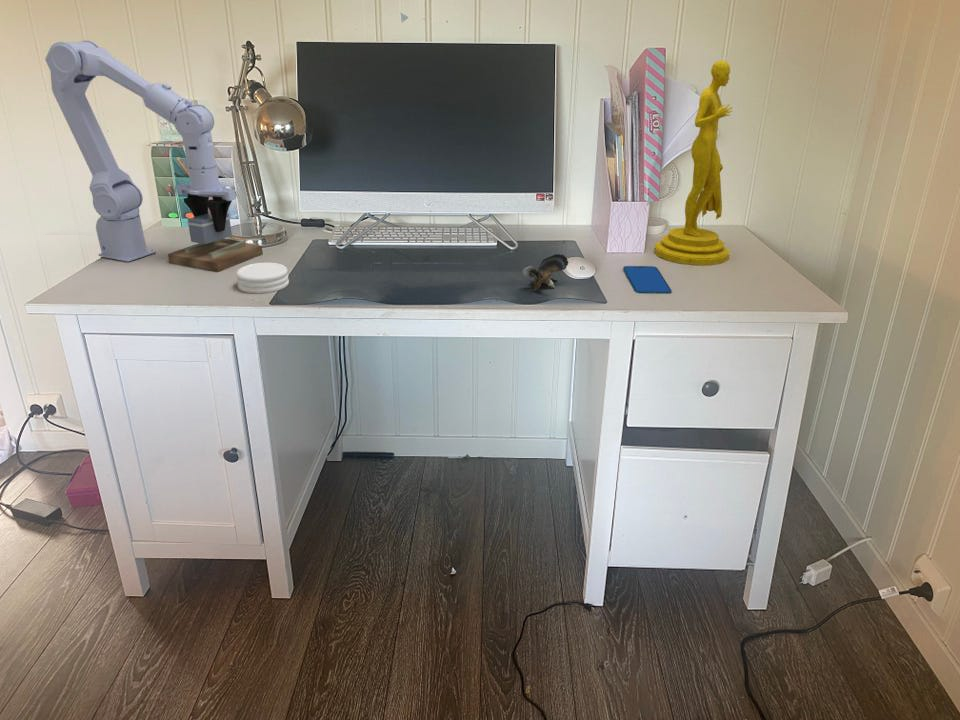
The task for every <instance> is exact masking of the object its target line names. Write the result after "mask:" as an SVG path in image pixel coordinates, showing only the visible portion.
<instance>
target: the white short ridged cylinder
mask: <svg viewBox="0 0 960 720" xmlns="http://www.w3.org/2000/svg"><path fill="white" fill-rule="evenodd" d="M288 272H289V270H288V268H287V266H285V265H284V264H281V263H278V262H277V263H276V262H256V263H255V262H254V263H251V264H246V265H245V266H242V267H240V268H238V269H237V270H236V272H235V276H236V282H237V288H238V289H239V290H240V291H242V292H244V293H248V294H266V293H267V294H268V293H274V292H278V291H281V290H283V289H285V288H286V287H287V286H289V283H290V280H289V274H288Z"/></svg>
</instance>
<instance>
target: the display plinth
mask: <svg viewBox="0 0 960 720" xmlns="http://www.w3.org/2000/svg"><path fill="white" fill-rule="evenodd" d="M263 253H264V252H263V246H262V245H261V244H255V243H254V244H253V243H247V242H245V240H244V239H239V238H233V237H232V238H231V237H226V238H223V239H220V240H217V241H214V242H210V243H207V244H201V243H196V244H193V245H190V246H187V247H184V248H181V249H178V250H176V251H173V252H169V253H167V257H168V262H169V264H173V265H174V264H175V265H180V266H185V267H189V268H194V269H195V268H196V269H200V270H205V271H206V270H207V271H211V272H216V273H219V272H221V271H224V270H227V269H229V268H232V267H234V266H237V265H239V264H241V263H244V262H246V261H249V260H252V259H254V258H256V257H259V256H262V255H263Z"/></svg>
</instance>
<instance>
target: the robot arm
mask: <svg viewBox="0 0 960 720" xmlns="http://www.w3.org/2000/svg"><path fill="white" fill-rule="evenodd" d="M44 60H45V62H46V65H47V66H48V70H50V71H49V72H50V73H49V74H50V81H51V83H50V84H51V91H52V94H53V96H54V98H55V101H56V102H57V104H58V106H59V108H60V110H61V112H62V115H63V117H64V119H65V120H66V123H67V125H68V127H69V129H70V131H71V134H72V135H73V138H74V139H75V143H76V144H77V146H78V148H79V150H80V152H81V155H82V156H83V158H84V161H85V163H86V165H87V167H88V169H89V171H90V173H91V176H92V178H91V181H90V183H89V187H88V188H89V190H90V193H91V196H92V205H93V206H92V207H93V208H94V210H95V211H96V213H97V214H98V215H99V217H98V219H97V220H96V224H95V231H96V235H97V240H98V243H99V247H100V252H101V253H98V255H97V256H98V257H101V258H107V259H112V260H115V261H123V262H132V261H134V260H139V259H140V258H141V259H142V258H143V257H146V256H150V255H153V254H156V253H157V250H155V249H150V248H147V243H146V238H145V234H144V230H143V224H142V220H141V216H140V215H141V214H140V211H141V210H140V207H141V205H142V204H143V193H142V192H141V189H140V188H139V187H138V186H137V185H136V184H135V183H134V182H133V180H132V178H131V176H130V175H129V174H128V173H127V172H125V171H123V170H122V169H121V168H120V167H119V165H118V164H117V161H116V159H115V156H114V155H113V152H112V150H111V148H110V146H109V143H108V141H107V140H106V137H105V134H104V132H103V131H102V129H101V126H100V123H99V122H98V119H97V118H96V115H95V113H94V111H93V109H92V106H91V104H90V103H89V100H88V97H87V96H86V93H87V90H88V87H89V86H90V83H91V82H92V81H93V80H94V79H95V78H96V77H97V76H98V77H106V78H107V79H109V80H111V81H113V82H115V84H118V85H120V86H121V87H123V88H125V89H126V90H128V91H130V92H131V93H134V94H135V95H137V96H138V97H141V99H142V101H143V104H144V106H145V107H146V108H147V109H149V110H150V111H152V112H153V113H155V114H156V115H158V116H160V117H161V118H163V119H165V120H166V121H167V122H169V123H171V124H172V125H174V129H175V130H176V132H177V133H178V134H179V135H180V137H181V139H182V143H183V147H184V153H185V159H186V165H187V170H188V172H187V173H188V177H189V183H182V184H177V185H176V187H177V192H178V195H187V197H184V198H183V202H184V204H185V205H186V206H187V207H188V209H189V210H190V211H191V213H192V215H193V216H194V217H197V216H200V215H204V214H208V213H211V215H212V219H213V223H214V228H215V230H216V232H221V231H224V230H225V224H226V217H227V213H229V209H230V206H231V203H232V202H233V201H234V200H236V199H237V196H236V195H237V194H236V190H235V189H230V188H227V187H224V186H221V185H220V180H219V174H218V168H217V162H216V155H215V147H214V143H213V142H214V141H213V137H212V136H213V134H212V130H213V128H214V127H215V126H214V125H215V118H214V116H213V114H212V112H211V111H210V110H209V109H208V108H207V107H206V106H205V105H204V104H194V103H193V101H192V99H190V98H185V97H183V96H182V95H180V94H179V93H177V92H175V91H174V90H172V85H170V84H169V83H161V82H155V83H151V82H149V81H148V80H147V79H145V78H144V77H143V76H141V75H140V74H138V73H137V72H136V71H134V70H133V69H131V68H130V67H129V66H127V65H126V64H125V63H123V62H122V61H121V60H119V59H117V58H116V57H115V56H113V55H112V54H111V52H109V50H107V49H106V48H103V46H102V47H101V46H99V45H98V44H97V43H95V42H94V41H91V40H81V41H69V42H67V41H66V42H65V41H57V42H54V43H53V44H52V45H51V46H50V47H49V50H48V52H47V54H46V57H44ZM210 198H212V199H210Z"/></svg>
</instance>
